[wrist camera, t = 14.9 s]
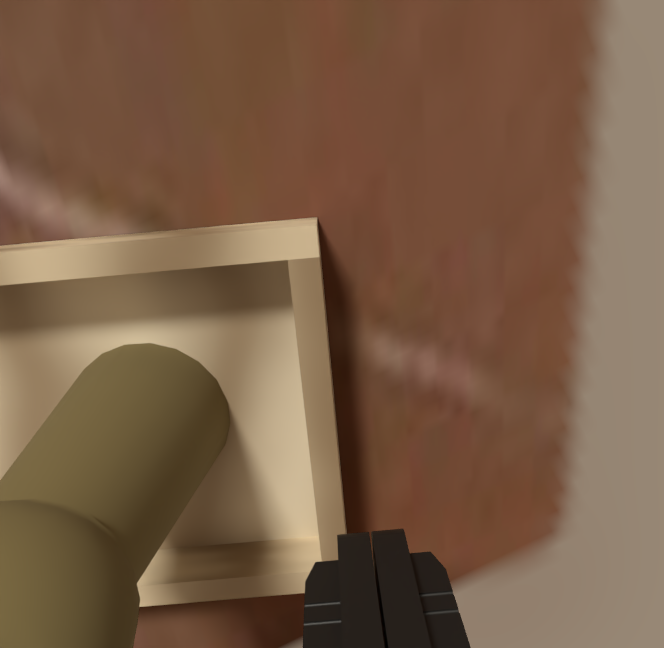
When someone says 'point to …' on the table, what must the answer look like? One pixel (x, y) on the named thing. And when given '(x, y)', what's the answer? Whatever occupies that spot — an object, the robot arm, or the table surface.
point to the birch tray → (221, 361)
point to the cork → (103, 495)
